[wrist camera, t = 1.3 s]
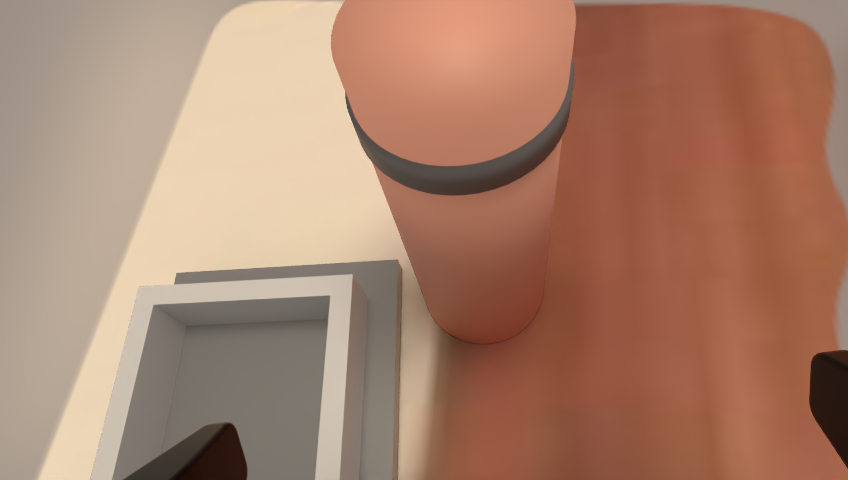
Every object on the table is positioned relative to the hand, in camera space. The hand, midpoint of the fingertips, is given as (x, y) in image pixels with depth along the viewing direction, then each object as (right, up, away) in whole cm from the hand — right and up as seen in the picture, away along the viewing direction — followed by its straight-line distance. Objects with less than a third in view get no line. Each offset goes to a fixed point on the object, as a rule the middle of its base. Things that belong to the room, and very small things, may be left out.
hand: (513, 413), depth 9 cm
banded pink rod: (+1, +1, +15) cm, 15 cm away
